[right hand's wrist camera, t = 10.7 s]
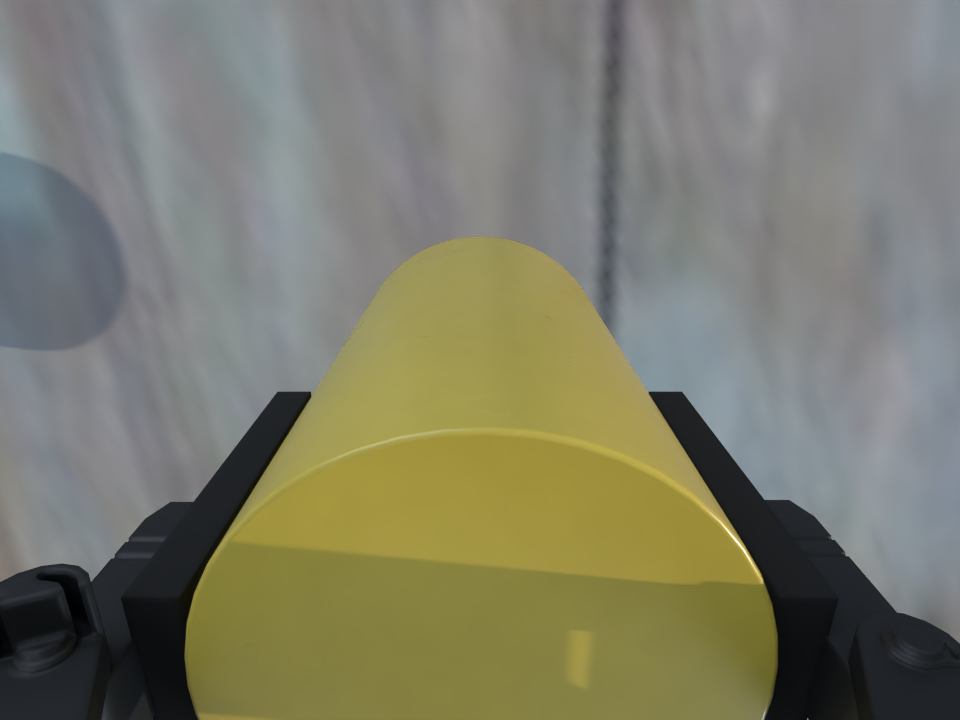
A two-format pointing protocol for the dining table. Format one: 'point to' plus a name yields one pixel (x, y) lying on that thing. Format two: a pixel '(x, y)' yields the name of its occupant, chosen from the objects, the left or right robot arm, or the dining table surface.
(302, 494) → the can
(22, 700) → the right robot arm
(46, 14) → the dining table surface
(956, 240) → the dining table surface
